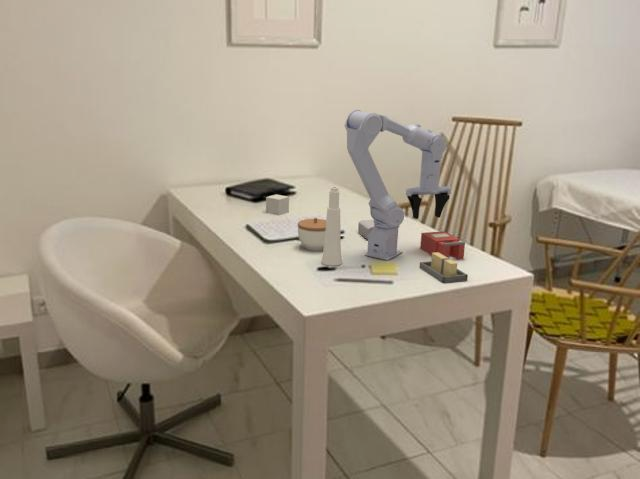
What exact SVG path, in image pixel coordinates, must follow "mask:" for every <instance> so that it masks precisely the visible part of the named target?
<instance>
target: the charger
mask: <svg viewBox="0 0 640 479" xmlns="http://www.w3.org/2000/svg"><path fill="white" fill-rule="evenodd" d="M357 225H358V228H357V232H358V234H360V236H362V237H364V239H366V240H367V241H368V235H369V233H370V232H371V231H372V230H373V228H374V219H361V220H360V221H358V224H357Z"/></svg>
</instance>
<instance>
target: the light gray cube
mask: <svg viewBox="0 0 640 479" xmlns="http://www.w3.org/2000/svg"><path fill="white" fill-rule="evenodd" d="M289 202H290V197H289V196H286V195H281V194H272V195H269V196H266V197H265V213H266V214H269V215H274V216H275V215H276V216H281V215H285V214H287V213H289V212H290V211H289V210H290V203H289Z"/></svg>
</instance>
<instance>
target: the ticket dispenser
mask: <svg viewBox="0 0 640 479" xmlns="http://www.w3.org/2000/svg"><path fill="white" fill-rule="evenodd" d="M420 234H421V236H420V249H421V250H423V251H424V252H426V253H428V254H429V255H431V256H432V253H436V252H439V253H440V254H442V255H444V256H446V257H447V258H449V259H450V257H453V258H454V259H457V260H464V257H465V256H464V255H465V246H466V242H465V241H460V238H459V237H456V236H454V235H453V234H450V233H448V232H447V231H444V230H442V231H428V232H421V233H420Z"/></svg>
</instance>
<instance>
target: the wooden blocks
mask: <svg viewBox="0 0 640 479" xmlns="http://www.w3.org/2000/svg"><path fill="white" fill-rule="evenodd" d="M431 267H432V268H433V269H435V270H436V271H438V272H440V273H441V274H443V275H444V276H454V275H456V273H457V269H458V262H456V261H454V260H453V259H451V258H450V257H449V258H447V257H446V256H444V255H442V254H440V253H439V252H436V253H432V255H431Z"/></svg>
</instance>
